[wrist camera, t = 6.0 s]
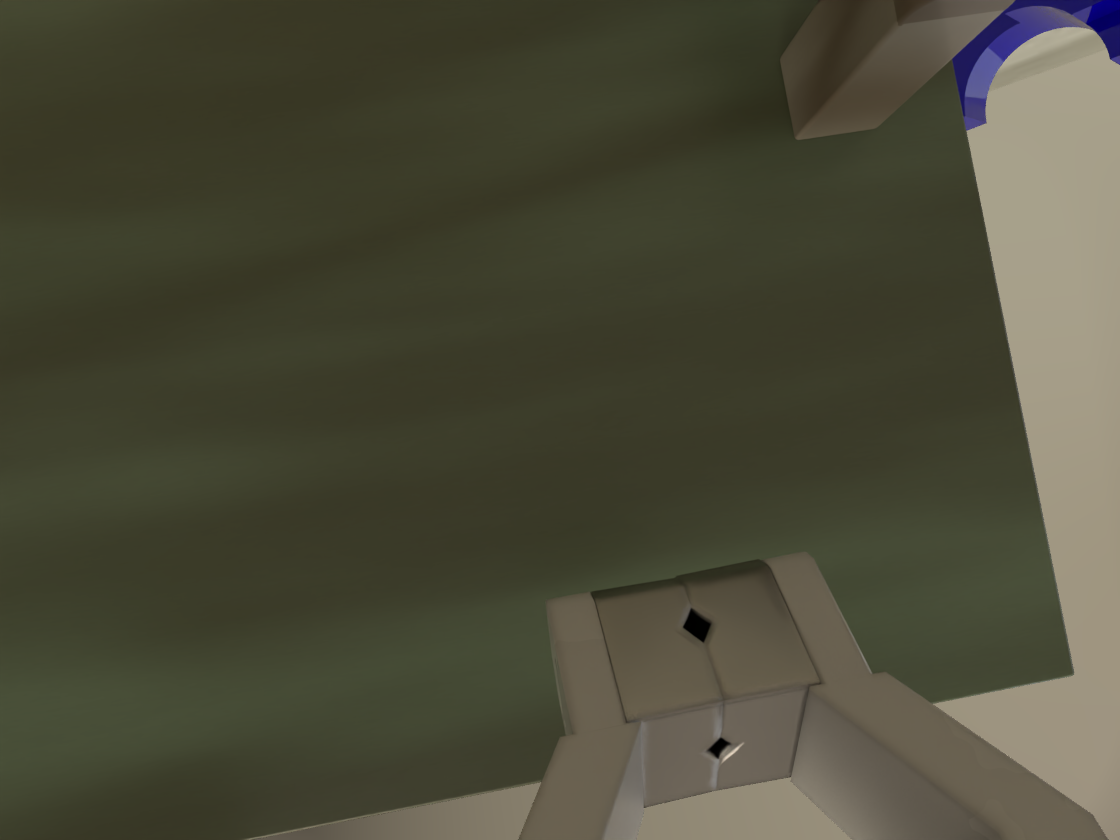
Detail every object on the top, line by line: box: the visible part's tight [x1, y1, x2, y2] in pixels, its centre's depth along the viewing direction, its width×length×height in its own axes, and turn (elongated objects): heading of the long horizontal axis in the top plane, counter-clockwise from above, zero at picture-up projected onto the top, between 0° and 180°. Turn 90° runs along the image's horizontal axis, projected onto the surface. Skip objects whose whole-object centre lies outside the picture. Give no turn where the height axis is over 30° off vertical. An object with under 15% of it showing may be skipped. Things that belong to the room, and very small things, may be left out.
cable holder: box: [952, 0, 1120, 131], centre depth 34 cm, size 8×4×4 cm, turn 137°
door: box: [0, 0, 1074, 840], centre depth 14 cm, size 6×20×20 cm, turn 86°
